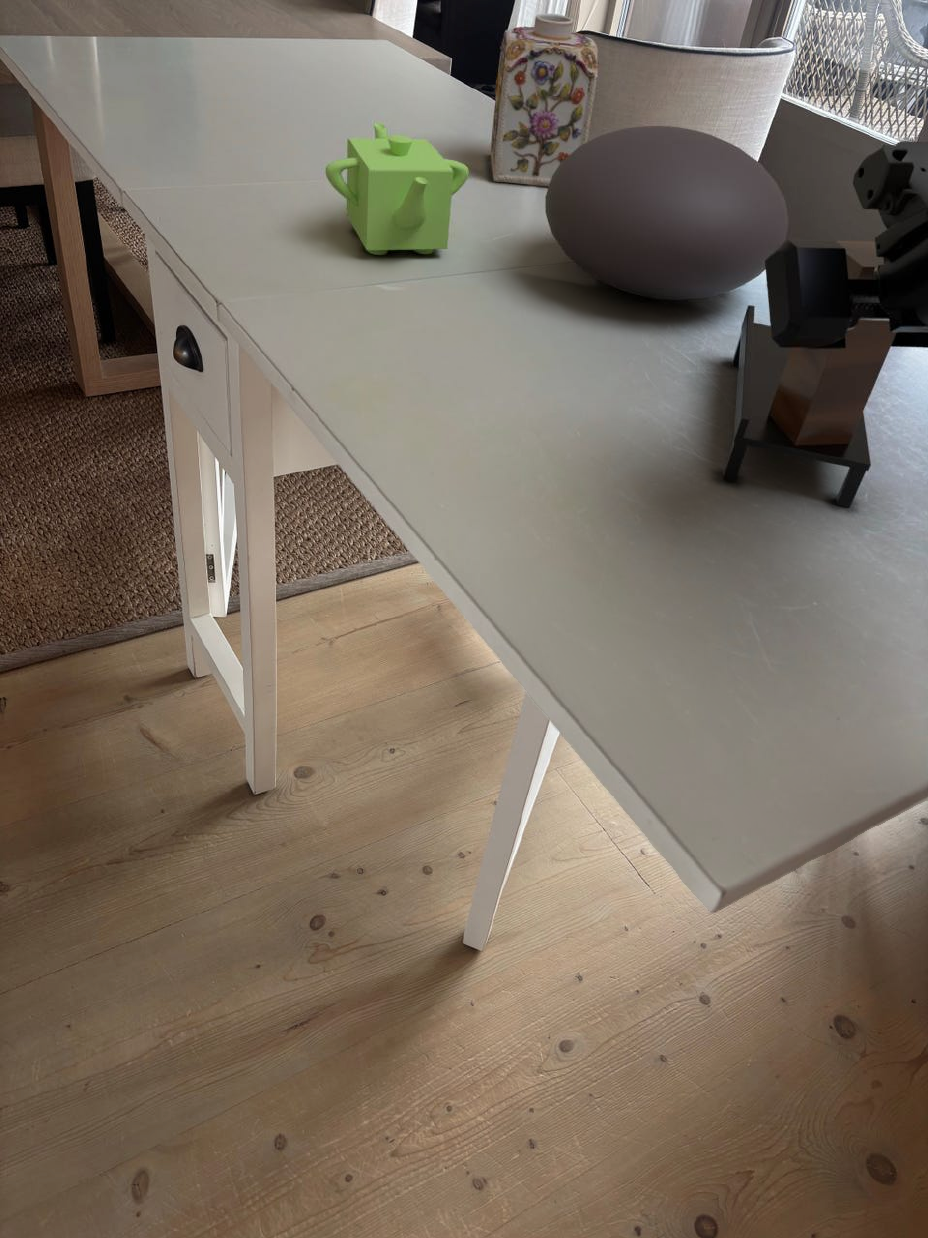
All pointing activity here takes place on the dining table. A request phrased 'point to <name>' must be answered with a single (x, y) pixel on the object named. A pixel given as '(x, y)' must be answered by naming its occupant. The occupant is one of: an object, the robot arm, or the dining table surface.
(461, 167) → the teapot
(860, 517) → the dining table surface
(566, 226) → the smooth stone
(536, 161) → the decorative jar
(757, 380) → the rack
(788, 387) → the walnut block
